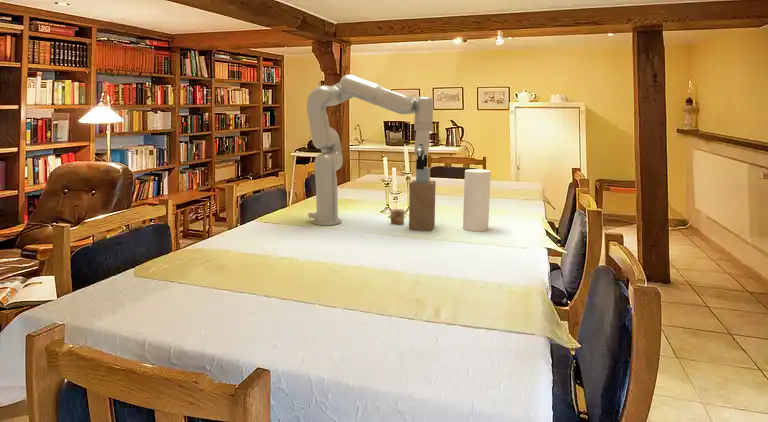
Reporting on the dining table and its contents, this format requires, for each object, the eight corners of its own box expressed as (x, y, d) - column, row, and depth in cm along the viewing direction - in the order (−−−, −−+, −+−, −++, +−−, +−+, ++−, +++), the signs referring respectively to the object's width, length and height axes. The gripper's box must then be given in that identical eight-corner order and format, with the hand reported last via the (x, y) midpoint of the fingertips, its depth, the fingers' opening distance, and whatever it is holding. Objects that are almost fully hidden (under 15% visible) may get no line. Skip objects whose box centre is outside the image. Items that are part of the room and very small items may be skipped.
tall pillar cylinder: (492, 228, 222) (495, 170, 217) (479, 232, 214) (481, 172, 209) (472, 224, 229) (474, 168, 224) (458, 228, 221) (459, 170, 216)
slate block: (416, 182, 217) (416, 168, 216) (418, 181, 222) (418, 167, 221) (427, 183, 216) (428, 168, 215) (429, 181, 221) (429, 167, 219)
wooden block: (432, 230, 217) (433, 184, 213) (408, 229, 219) (409, 183, 215) (434, 225, 227) (435, 180, 223) (412, 224, 229) (412, 180, 225)
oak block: (390, 224, 229) (390, 211, 228) (393, 221, 234) (393, 209, 233) (402, 224, 228) (402, 211, 227) (403, 222, 233) (404, 209, 232)
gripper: (417, 126, 223) (416, 165, 227) (410, 127, 207) (409, 170, 210) (434, 126, 222) (433, 166, 225) (429, 128, 205) (427, 170, 209)
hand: (421, 168), depth 218 cm, fingers open, 9 cm apart
